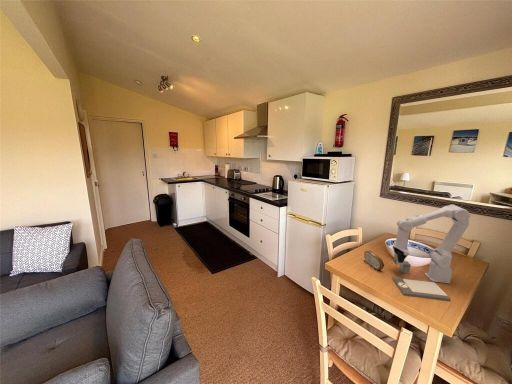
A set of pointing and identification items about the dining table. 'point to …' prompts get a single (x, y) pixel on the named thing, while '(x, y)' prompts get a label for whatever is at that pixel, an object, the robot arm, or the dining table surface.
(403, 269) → the block
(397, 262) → the block
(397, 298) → the dining table surface
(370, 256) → the tin
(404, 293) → the scale
